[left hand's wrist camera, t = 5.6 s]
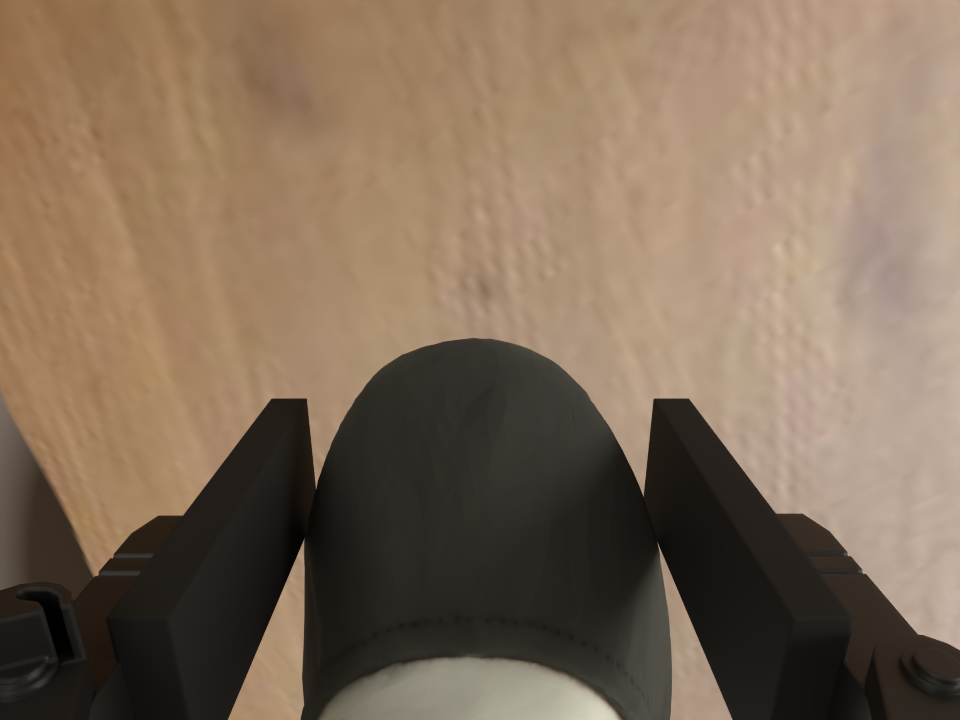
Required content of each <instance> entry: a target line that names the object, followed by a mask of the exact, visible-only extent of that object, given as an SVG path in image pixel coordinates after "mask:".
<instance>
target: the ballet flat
mask: <svg viewBox="0 0 960 720" xmlns="http://www.w3.org/2000/svg"><path fill="white" fill-rule="evenodd" d="M304 561H305V618H304V651H303V672H302V682H303V694H304V708H303V710H302V715H301V720H670V714H671V695H672V660H671V641H670V629H669V616H668V608H667V601H666V595H665V588H664V582H663V575H662V569H661V563H660V553H659V548H658V543H657V539H656V535H655V531H654V528H653V524H652V521H651V518H650V515H649V512H648V509H647V506H646V503H645V500H644V497H643V495H642V492H641V489H640V487H639V484H638V482H637V480H636V477H635V475H634V473H633V471H632V469H631V467H630V465H629V463H628V461H627V459H626V457H625V455H624V452H623V450H622V449H621V447H620V445H619V443H618V441H617V440H616V438H615V436H614V434H613V432H612V430H611V429H610V427H609V426H608V424H607V422H606V421H605V420H604V418H603V417H602V415H601V414H600V413H599V411H598V410H597V408H596V407H595V405H594V404H593V403H592V402H591V400H590V398H589V396H588V394H587V392H586V391H585V390H584V389H583V388H582V387H581V386H580V385H579V384H578V383H577V382H576V381H575V380H574V379H573V378H572V377H571V376H570V375H569V374H568V373H567V372H566V371H564V370H563V369H562V368H561V367H560V366H559V365H557V364H556V363H555V362H553V361H551V360H550V359H548V358H546V357H544V356H542V355H540V354H538V353H536V352H534V351H532V350H530V349H528V348H525V347H522V346H519V345H516V344H512V343H508V342H503V341H499V340H493V339H477V338H470V339H461V340H453V341H446V342H441V343H438V344H435V345H430V346H425V347H422V348H420V349H417V350H414V351H412V352H409V353H406V354H403V355H401V356H400V357H398V358H396V359H395V360H393V361H392V362H390V363H389V364H387V365H386V366H384V367H383V368H382V369H381V370H379V371H378V372H377V373H376V374H375V375H374V376H373V377H372V379H371V380H370V381H369V382H368V383H367V384H366V386H365V388H364V389H363V390H362V392H361V393H360V394H359V395H358V397H357V398H356V399H355V401H354V403H353V405H352V407H351V408H350V409H349V411H348V412H347V414H346V416H345V418H344V420H343V421H342V423H341V424H340V427H339V429H338V431H337V433H336V435H335V437H334V439H333V441H332V444H331V447H330V450H329V452H328V454H327V457H326V460H325V462H324V465H323V468H322V471H321V474H320V477H319V479H318V484H317V489H316V492H315V494H314V499H313V504H312V507H311V511H310V515H309V519H308V528H307V533H306V536H305V540H304Z"/></svg>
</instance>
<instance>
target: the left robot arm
mask: <svg viewBox="0 0 960 720" xmlns="http://www.w3.org/2000/svg"><path fill="white" fill-rule="evenodd" d="M315 492H316V485H315V475H314V465H313V456H312V446H311V436H310V426H309V416H308V407H307V399H271V400H270V402H269V403H268V404H267V406H266V407H265V408H264V409H263V411H262V412H261V413H260V415H259V416H258V417H257V419H256V420H255V421H254V423H253V424H252V425H251V427H250V428H249V429H248V431H247V432H246V433H245V435H244V436H243V437H242V439H241V440H240V441H239V443H238V444H237V445H236V446H235V448H234V449H233V450H232V452H231V453H230V454H229V456H228V457H227V458H226V460H225V461H224V462H223V464H222V465H221V466H220V468H219V469H218V470H217V472H216V473H215V474H214V476H213V477H212V478H211V480H210V481H209V482H208V483H207V485H206V486H205V487H204V489H203V490H202V491H201V493H200V494H199V495H198V497H197V498H196V499H195V501H194V502H193V503H192V505H191V506H190V507H189V509H188V510H187V511H186V513H185V514H184V515H183V516H157V517H156V518H154V519H153V520H151V521H150V522H148V523H147V524H145V525H144V526H142V527H141V528H139V529H138V530H136V531H134V532H133V533H131V535H130V536H129V537H128V538H127V539H126V540H125V542H124V543H123V544H122V545H121V546H120V548H119V549H118V550H117V551H116V552H115V553H114V557H113V558H110V559H109V560H108V562H107V563H106V564H105V565H104V566H103V568H102V569H101V570H100V571H99V575H98V576H95V577H94V578H93V579H92V581H91V582H90V583H89V584H88V585H87V587H86V588H85V589H84V590H83V591H82V592H81V593H80V595H79V596H78V597H77V598H76V599H75V600H74V602H73V598H72V595H71V592H70V591H69V590H67V589H66V588H65V587H63V586H62V585H61V584H55V583H49V582H36V583H27V584H20V585H17V586H13V587H10V588H7V589H4V590H0V720H228V718H229V716H230V713H231V711H232V708H233V706H234V704H235V701H236V699H237V697H238V694H239V692H240V689H241V687H242V685H243V682H244V680H245V678H246V675H247V673H248V671H249V668H250V666H251V663H252V661H253V659H254V656H255V654H256V652H257V649H258V647H259V645H260V642H261V640H262V637H263V635H264V633H265V630H266V628H267V626H268V623H269V621H270V619H271V616H272V614H273V611H274V609H275V607H276V604H277V602H278V600H279V597H280V595H281V593H282V590H283V588H284V585H285V583H286V581H287V578H288V576H289V574H290V571H291V569H292V566H293V564H294V562H295V559H296V557H297V555H298V552H299V550H300V548H301V545H302V543H303V540H304V538H305V536H306V533H307V528H308V519H309V515H310V511H311V507H312V504H313V499H314V494H315ZM644 500H645V503H646V506H647V509H648V512H649V515H650V518H651V521H652V524H653V528H654V531H655V535H656V539H657V542H658V544H659V547H660V549H661V551H662V554H663V556H664V558H665V561H666V563H667V565H668V568H669V570H670V573H671V575H672V577H673V580H674V582H675V584H676V587H677V589H678V591H679V594H680V596H681V599H682V601H683V603H684V606H685V608H686V610H687V613H688V615H689V617H690V620H691V622H692V625H693V627H694V629H695V632H696V634H697V636H698V639H699V641H700V643H701V646H702V648H703V651H704V653H705V655H706V658H707V660H708V662H709V665H710V667H711V669H712V672H713V674H714V677H715V679H716V681H717V684H718V686H719V688H720V691H721V693H722V695H723V698H724V700H725V703H726V705H727V707H728V710H729V712H730V714H731V717H732V719H733V720H960V650H958V649H956V648H955V647H953V646H951V645H949V644H947V643H944V642H941V641H939V640H936V639H933V638H930V637H927V636H924V635H918V634H917V633H916V632H915V631H914V630H913V628H912V627H911V626H910V625H909V624H908V623H907V621H906V620H905V619H904V618H903V617H902V616H901V614H900V613H899V612H898V611H897V610H896V609H895V607H894V606H893V605H892V604H891V603H890V602H889V600H888V599H887V598H886V597H885V596H884V594H883V593H882V592H881V591H880V590H879V589H878V587H877V586H876V585H875V584H874V583H873V582H872V580H871V579H870V578H869V577H868V576H867V575H866V574H863V573H862V569H861V568H860V566H859V565H858V564H857V563H856V562H855V561H854V559H853V558H852V557H851V556H848V555H847V551H846V550H845V549H844V548H843V547H842V545H841V544H840V543H839V542H838V541H837V540H836V538H835V537H834V536H833V535H832V534H831V533H830V531H828V530H827V529H825V528H824V527H822V526H820V525H819V524H817V523H816V522H814V521H813V520H811V519H810V518H808V517H807V516H805V515H804V514H776V513H775V512H774V511H773V509H772V508H771V507H770V505H769V504H768V503H767V501H766V500H765V499H764V497H763V496H762V495H761V493H760V492H759V491H758V489H757V488H756V487H755V485H754V484H753V483H752V482H751V480H750V479H749V478H748V476H747V475H746V474H745V472H744V471H743V470H742V468H741V467H740V466H739V464H738V463H737V462H736V460H735V459H734V458H733V456H732V455H731V454H730V452H729V451H728V450H727V448H726V447H725V446H724V445H723V443H722V442H721V441H720V439H719V438H718V437H717V435H716V434H715V433H714V431H713V430H712V429H711V427H710V426H709V425H708V423H707V422H706V421H705V419H704V418H703V417H702V415H701V414H700V413H699V411H698V410H697V409H696V408H695V406H694V405H693V404H692V402H691V401H690V400H689V399H654V401H653V411H652V421H651V431H650V441H649V450H648V460H647V470H646V480H645V489H644Z"/></svg>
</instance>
